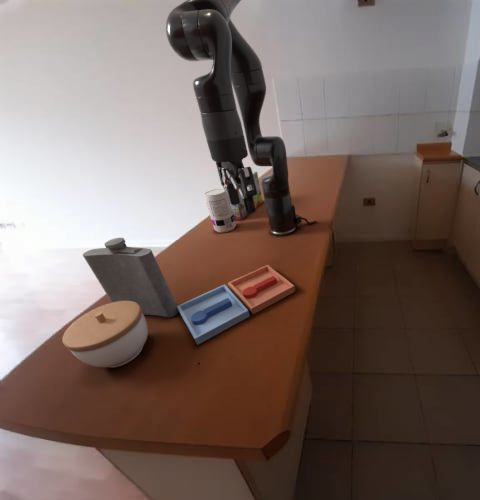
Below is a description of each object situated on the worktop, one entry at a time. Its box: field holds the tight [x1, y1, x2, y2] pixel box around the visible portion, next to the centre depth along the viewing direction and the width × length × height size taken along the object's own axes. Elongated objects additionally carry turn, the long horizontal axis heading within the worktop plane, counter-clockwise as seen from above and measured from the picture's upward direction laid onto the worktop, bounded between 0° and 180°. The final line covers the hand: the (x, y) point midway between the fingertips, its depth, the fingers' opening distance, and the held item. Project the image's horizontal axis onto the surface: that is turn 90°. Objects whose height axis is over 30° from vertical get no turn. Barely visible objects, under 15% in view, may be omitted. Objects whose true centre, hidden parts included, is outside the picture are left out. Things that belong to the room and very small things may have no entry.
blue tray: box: [177, 284, 251, 345], centre depth 67 cm, size 12×14×2 cm
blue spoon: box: [191, 298, 232, 325], centre depth 66 cm, size 9×4×2 cm, turn 131°
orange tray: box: [227, 264, 296, 315], centre depth 74 cm, size 12×14×2 cm
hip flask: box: [82, 237, 180, 318], centre depth 65 cm, size 16×4×20 cm, turn 83°
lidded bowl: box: [61, 301, 149, 368], centre depth 56 cm, size 13×13×11 cm
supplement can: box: [204, 188, 237, 234], centre depth 106 cm, size 8×8×15 cm
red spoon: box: [243, 276, 277, 299], centre depth 73 cm, size 9×4×2 cm, turn 130°
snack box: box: [222, 171, 264, 221], centre depth 121 cm, size 21×6×15 cm, turn 168°
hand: (243, 208), depth 66 cm, fingers open, 8 cm apart
